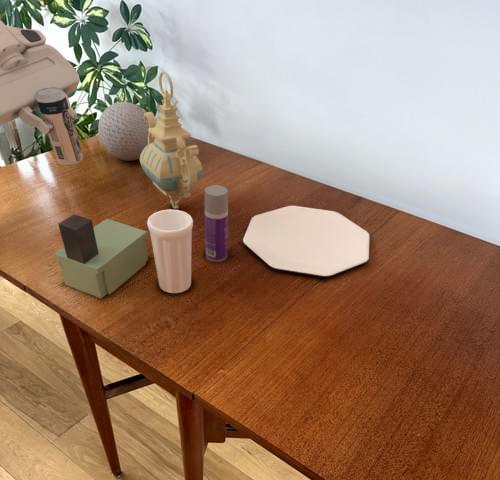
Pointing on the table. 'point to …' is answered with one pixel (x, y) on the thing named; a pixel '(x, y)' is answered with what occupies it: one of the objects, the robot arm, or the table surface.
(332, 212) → the plate
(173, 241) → the cup
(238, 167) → the table surface
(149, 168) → the ornate tan lantern
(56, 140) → the white lidded canister
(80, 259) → the block
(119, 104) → the decorative ball
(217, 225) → the container
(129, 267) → the sage green lidded box
